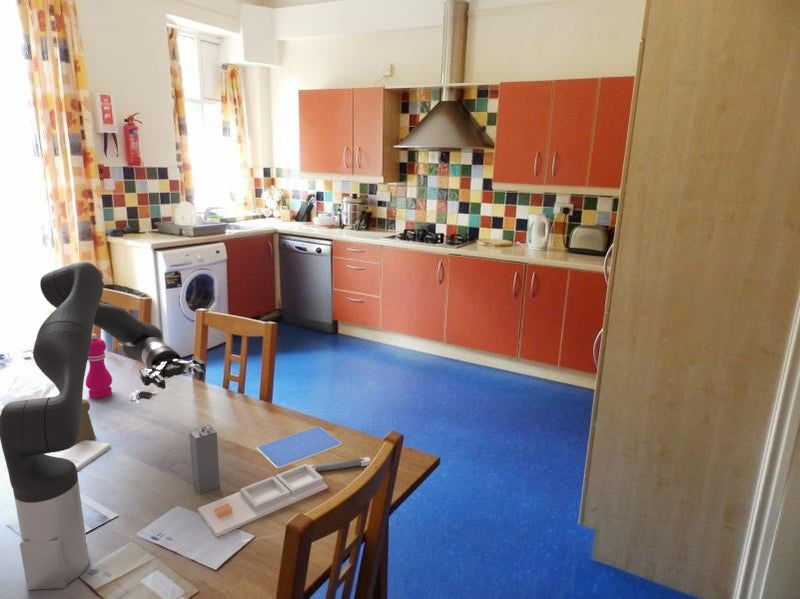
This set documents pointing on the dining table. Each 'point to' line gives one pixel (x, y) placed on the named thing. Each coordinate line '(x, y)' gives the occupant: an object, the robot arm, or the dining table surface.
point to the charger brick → (204, 459)
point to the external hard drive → (84, 452)
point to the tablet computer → (298, 447)
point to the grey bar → (341, 464)
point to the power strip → (261, 499)
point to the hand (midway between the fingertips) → (182, 380)
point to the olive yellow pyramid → (85, 424)
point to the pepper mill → (98, 370)
